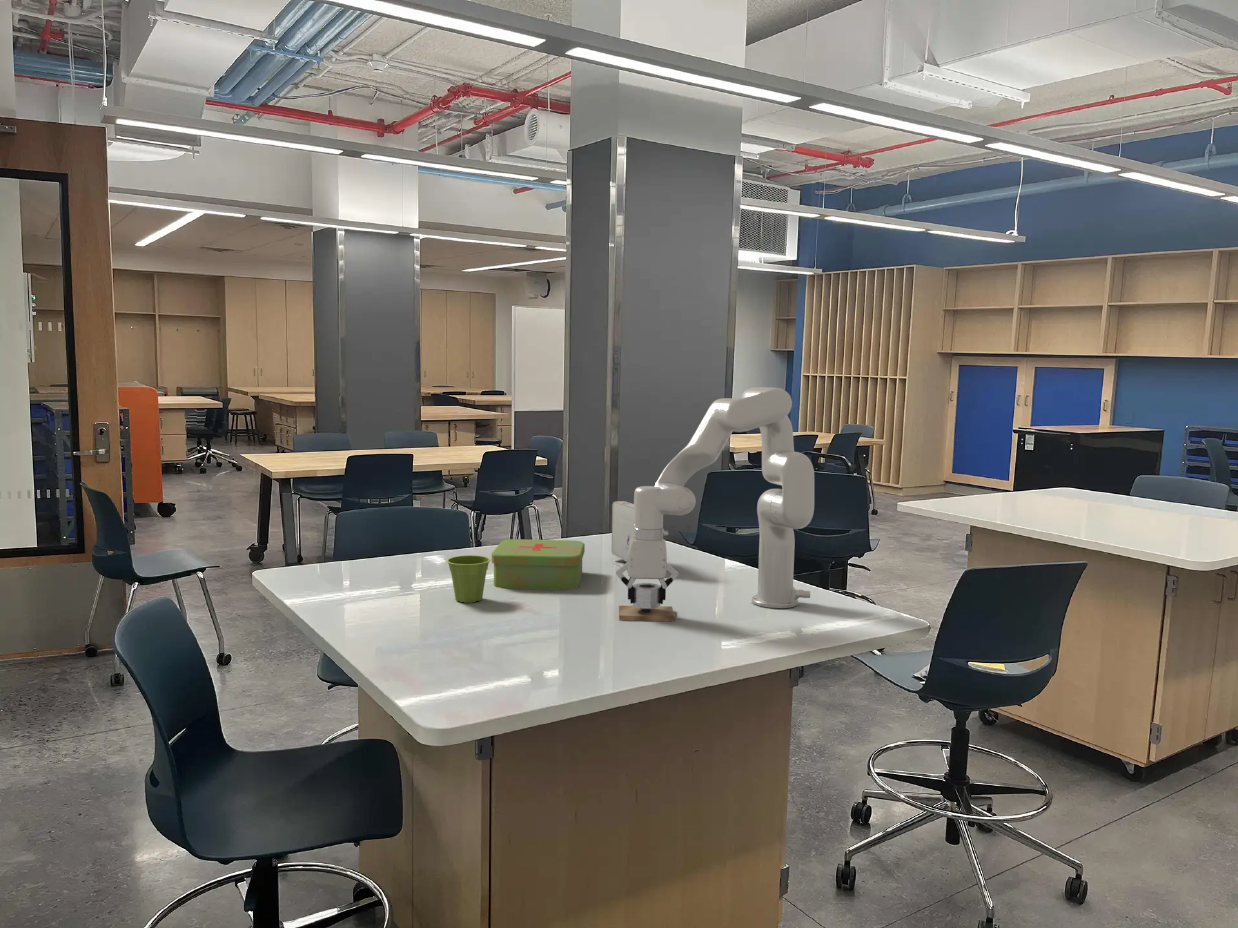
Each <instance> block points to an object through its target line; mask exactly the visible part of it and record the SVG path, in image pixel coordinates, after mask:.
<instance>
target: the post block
mask: <svg viewBox="0 0 1238 928" xmlns="http://www.w3.org/2000/svg"><path fill="white" fill-rule="evenodd" d="M675 617H676V616H675V613H674V608H673V606H671V605H670V606H667V605H666V606H665V605H664V606H663V605H662V606H661V605H660V607H657V608H652V609H643V608H637V607H635V606H633V605H619V606H618V621H644V622H645V621H646V622H647V621H648V622H649V621H650V622H657V621H658V622H675Z"/></svg>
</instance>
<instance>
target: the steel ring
mask: <svg viewBox="0 0 1238 928" xmlns="http://www.w3.org/2000/svg"><path fill="white" fill-rule="evenodd" d="M633 589H634V593H633V603H632V606H635V607H637V608H643V609H652V608H657V607H660V606H661V604H660V589H661V584H657V583H653V582H639V583H634V584H633Z"/></svg>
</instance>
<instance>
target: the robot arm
mask: <svg viewBox="0 0 1238 928" xmlns="http://www.w3.org/2000/svg"><path fill="white" fill-rule="evenodd" d="M740 396H741V397H740V398H730V397H729V398H728V397H726V398H725V397H723V398H718V399H716V400H714V401H713V402H712V403H711V404H710V406H709V407H708V409H707V411H706V412H705V414H704V416H703V418H702V420H701V422H700V423H699V425H698V426H697V428H696V430H695V432H694V433H693V435H692V437H691V438H690V440H689V442H688V443H687V445H686V446H685V447H683V449H681V450H680V451H679V453H677V454H676V455H675V456H674V457H673V458H672V459H671V460H670V461H669V463H668V464H667V465H666V466H665V468H664V469H663V470H662V472H661V474H660V475H659V477H658V478H657V481H656V482H655V485H654V486H653V485H641V486H638V487H636V488H635V490H634V493H633V494H634V495H633V504H634V529H633V538H631V539H630V543H629V550H628V562H625V563H624V564H622V565H623V566H622V567H619V568H618V569H617V570H616V571H615V574H616V576H617V577H618V578H619V580H620V581H621V582H622V583H623V584H624V585H625V586H626V588H627V600H629V601H630V604H632V605H633V593H634V589H633V585H634V584H635V581H636V580H643V579H644V580H658V581H659V583H660V587H661V589H660V605H663V604H664V601H666V597H667V596H666V593H667V591H666V590H667V589H668V587H669V586H670V585H671V584H672V583H673V581H674V580H676V578H677V577H678V576H679V572H678V571H677V570H676V569H675V568H674V567H672V566H671V564H670V563H668V555H667V554H668V553H667V544H666V539H664V537H666V536H667V537H668V536H669V530H667V529H664V515H669V516H670V515H671V516H685V515H687V514H689V513H691V512H692V511H693V510H694V508H695V506H696V495H695V494H694V492H693V491H691V489H690V488H688V487H685V484H686V483H687V482H688V481H689V480H690V478H691V477H692V476H693V475H695V473H696V472H699V471H700V470H701V469H704V468H706V467H708V466H710V465H712V464H714V463H715V462H716V461H717V459H718V458H719V457H720V454H721V453H722V451H723V450H724V447H725V446H726V444H727V443H728V440H729V439H730V437H731V436H732V433H734V432H735V433H743V432H748V431H752V430H755V429H758V428H759V431H760V436H761V438H760V439H761V472H762V476H763V479H764V480H766V481H767V482H768V483H770V484H774V485H777V486H781V488H770V489H767V490H765V491H764V492H763V493H762V494H761V495H760V496H759V498H758V501H757V504H756V505H757V507H756V513H757V518H758V519H757V521H758V527H759V530H758V531H759V543H758V546H759V547H758V570H757V573H758V574H757V594H755V595H753V596H752V597H751V603H753V604H754V605H755V606H759V607H763V608H770V609H790V608H794V607H797V606H798V605H799V598H803V599H810V598H811V591H810V590H804V589H796V588H795V587H794V573H795V572H794V570H795V569H794V568H795V567H794V566H795V565H794V564H795V548H796V547H795V544H796V543H795V542H796V540H795V532H794V530H799V529H804V528H806V527H807V526H808V525H809V524H811V521H812V519H813V516H814V512H815V470H814V466H813V463H812V461H811V459H810V458H809V457H808V456H807V455H805V454H804V453H801V452H800V451H799V452H798V451H795V447H794V446H795V445H794V444H795V443H794V442H795V441H794V431H793V426H792V425H793V424H792V421H791V420H790V418H789V414H790V412H791V409H792V407H793V406H792V405H793V401H792V397H791V395H790V394H789V392H787V391H786V390H785V389H783V388H780V387H771V386H770V387H769V386H754V387H749V388H747V389H745V390H744V391H743V392H742V393H741V395H740ZM625 572H627V575H628V577H629V579H628V578H627V577H626V576H625V574H623V573H625ZM668 572H669V573H670V576H668V577H667V573H668ZM666 577H667V578H666ZM665 578H666V579H665Z"/></svg>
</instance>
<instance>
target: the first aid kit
mask: <svg viewBox="0 0 1238 928" xmlns="http://www.w3.org/2000/svg"><path fill="white" fill-rule="evenodd" d="M585 545H586V544H585V543H584V542H583V541H580V540H569V539H565V540H563V539H519V538H517V539H515V538H514V539H511V538H510V539H504V540H502V541H500V542H499V544H498V545H497V546H496V548H495V549H494V550H493V551H492V552H491V563H492V564H493V586H494V587H496V588H499V587H500V588H501V589H527V590H528V589H531V590H532V589H533V590H535V589H537V590H574V589H578V587H579V586H580V583H581V579H582V576H583V558H584V555H585V551H586V550H585V549H586V548H585Z"/></svg>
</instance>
